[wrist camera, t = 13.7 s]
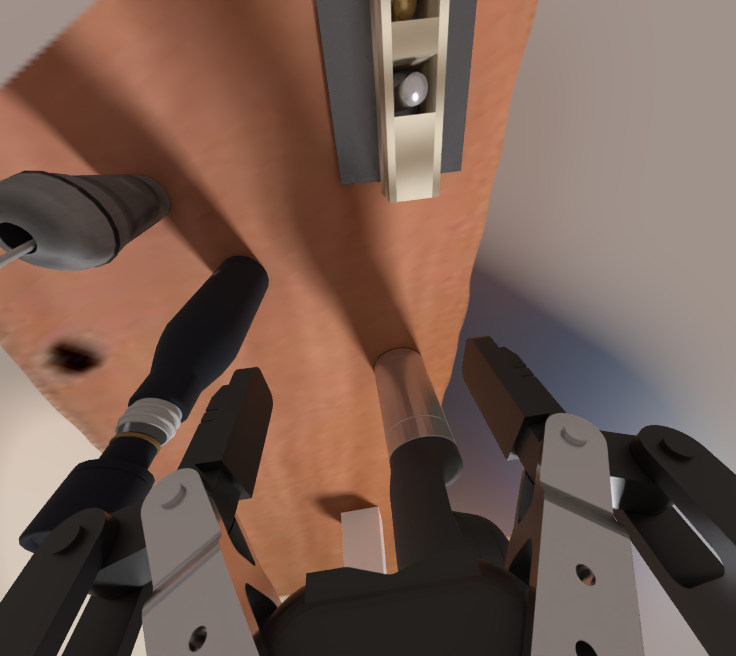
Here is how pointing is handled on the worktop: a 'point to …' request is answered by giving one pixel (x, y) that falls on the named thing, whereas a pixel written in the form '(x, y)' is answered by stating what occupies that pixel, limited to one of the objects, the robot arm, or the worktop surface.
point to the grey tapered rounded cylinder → (75, 217)
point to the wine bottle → (162, 396)
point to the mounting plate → (357, 83)
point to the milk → (363, 540)
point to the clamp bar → (424, 130)
